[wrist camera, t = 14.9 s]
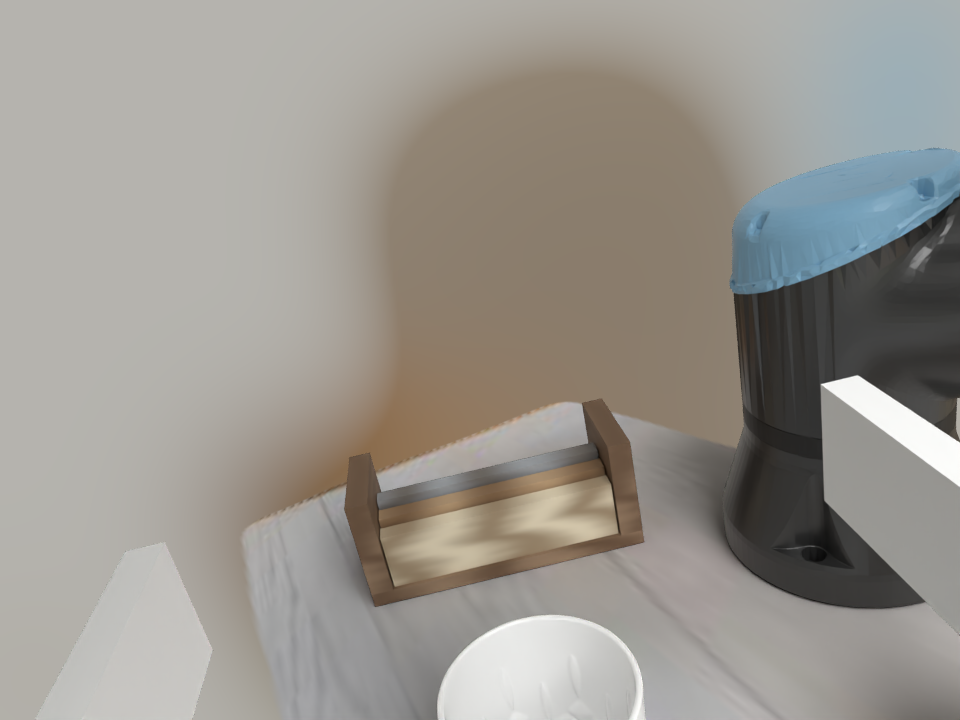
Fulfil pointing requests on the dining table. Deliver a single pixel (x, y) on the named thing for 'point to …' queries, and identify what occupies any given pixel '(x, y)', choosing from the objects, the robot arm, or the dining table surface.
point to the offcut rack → (495, 515)
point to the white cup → (543, 674)
